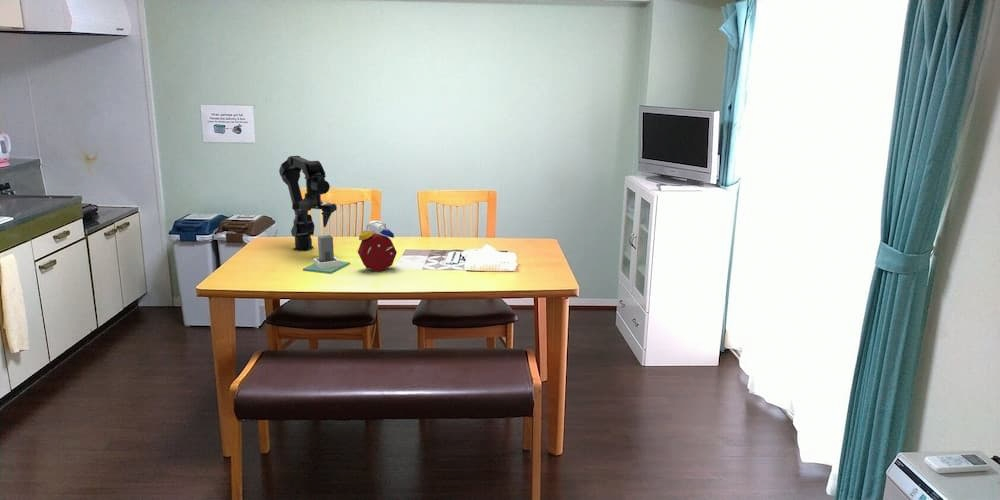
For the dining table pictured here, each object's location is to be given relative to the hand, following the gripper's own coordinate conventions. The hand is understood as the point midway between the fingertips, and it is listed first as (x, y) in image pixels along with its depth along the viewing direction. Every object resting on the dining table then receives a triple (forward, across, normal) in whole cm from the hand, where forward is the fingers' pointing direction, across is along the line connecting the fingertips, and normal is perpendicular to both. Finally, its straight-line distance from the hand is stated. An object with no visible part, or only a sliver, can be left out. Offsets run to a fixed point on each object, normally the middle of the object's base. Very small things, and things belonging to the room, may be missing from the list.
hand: (315, 226), depth 312 cm
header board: (+13, +14, -15) cm, 24 cm away
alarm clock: (+13, +36, -12) cm, 40 cm away
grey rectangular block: (+12, +14, -15) cm, 24 cm away
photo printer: (+13, +18, +22) cm, 31 cm away
